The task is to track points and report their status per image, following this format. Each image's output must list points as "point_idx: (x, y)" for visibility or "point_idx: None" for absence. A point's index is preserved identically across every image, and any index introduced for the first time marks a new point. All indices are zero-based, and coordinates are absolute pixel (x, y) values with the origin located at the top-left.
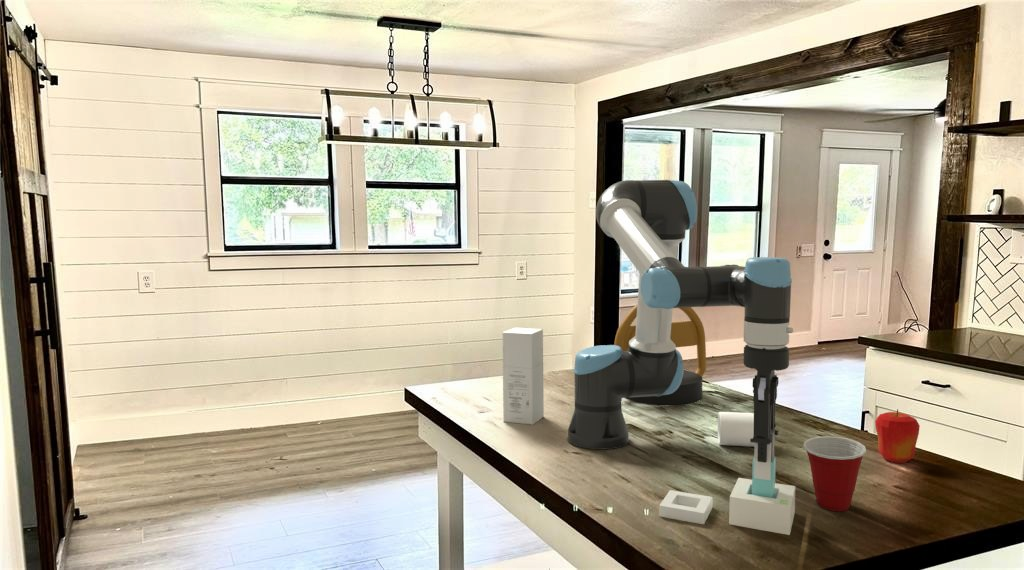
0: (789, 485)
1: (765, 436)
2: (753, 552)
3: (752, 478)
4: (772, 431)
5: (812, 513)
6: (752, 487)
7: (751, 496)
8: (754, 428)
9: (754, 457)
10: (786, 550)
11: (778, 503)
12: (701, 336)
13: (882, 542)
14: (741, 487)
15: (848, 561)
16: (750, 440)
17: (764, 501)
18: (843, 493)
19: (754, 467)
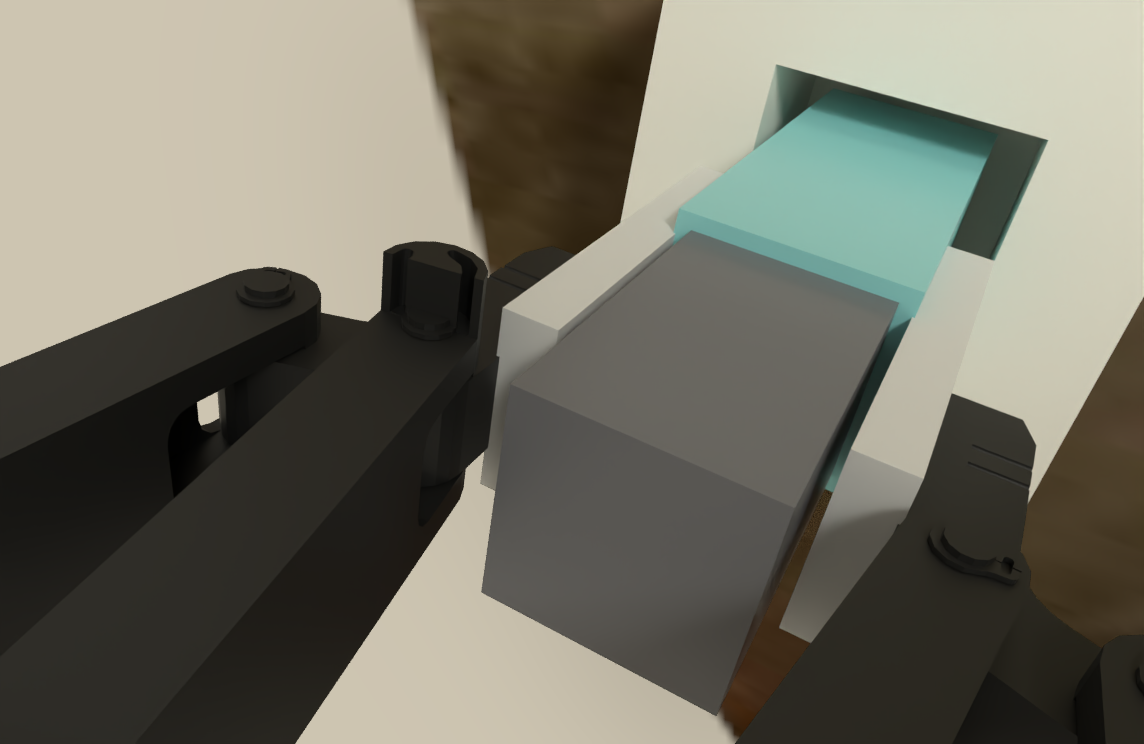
0: (1031, 481)
1: (187, 437)
2: (504, 30)
3: (750, 153)
4: (620, 649)
5: (1135, 529)
6: (782, 133)
7: (724, 101)
8: (71, 351)
9: (608, 234)
10: (571, 216)
11: None
12: None
13: (755, 671)
14: (940, 32)
15: None
16: (394, 247)
17: (643, 189)
18: None
19: (655, 199)
